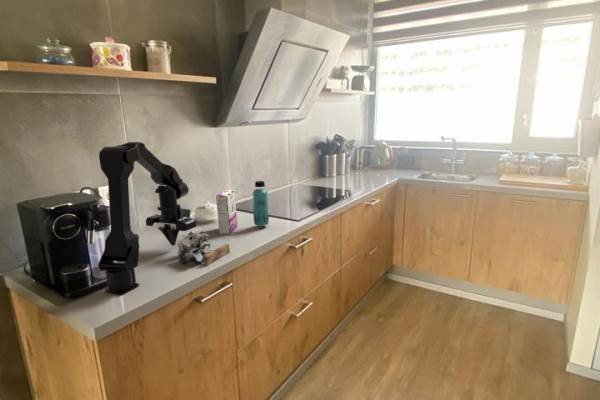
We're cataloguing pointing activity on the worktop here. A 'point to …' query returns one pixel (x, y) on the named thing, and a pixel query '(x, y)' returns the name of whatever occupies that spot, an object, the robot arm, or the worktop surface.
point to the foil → (194, 247)
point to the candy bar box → (226, 211)
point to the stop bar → (216, 254)
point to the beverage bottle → (260, 205)
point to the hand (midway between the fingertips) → (173, 245)
